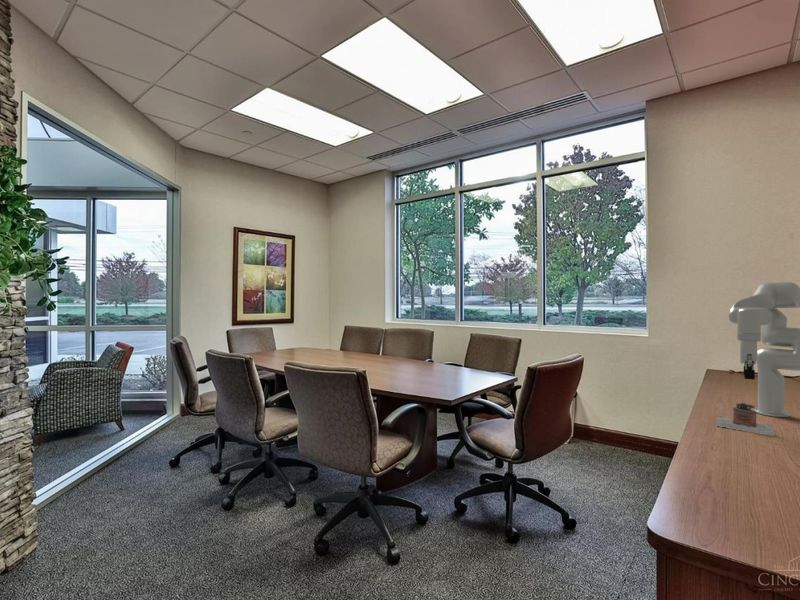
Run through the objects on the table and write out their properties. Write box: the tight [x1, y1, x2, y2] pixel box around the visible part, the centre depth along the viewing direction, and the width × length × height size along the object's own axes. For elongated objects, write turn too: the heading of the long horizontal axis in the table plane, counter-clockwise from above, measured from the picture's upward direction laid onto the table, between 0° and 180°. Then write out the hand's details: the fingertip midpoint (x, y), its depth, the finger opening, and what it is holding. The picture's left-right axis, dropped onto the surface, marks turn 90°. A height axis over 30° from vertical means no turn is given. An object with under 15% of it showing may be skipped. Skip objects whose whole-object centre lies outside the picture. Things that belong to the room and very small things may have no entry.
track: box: [716, 416, 776, 437], centre depth 168 cm, size 12×18×2 cm, turn 51°
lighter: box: [732, 402, 758, 427], centre depth 168 cm, size 8×3×10 cm, turn 28°
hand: (749, 377), depth 169 cm, fingers open, 9 cm apart
